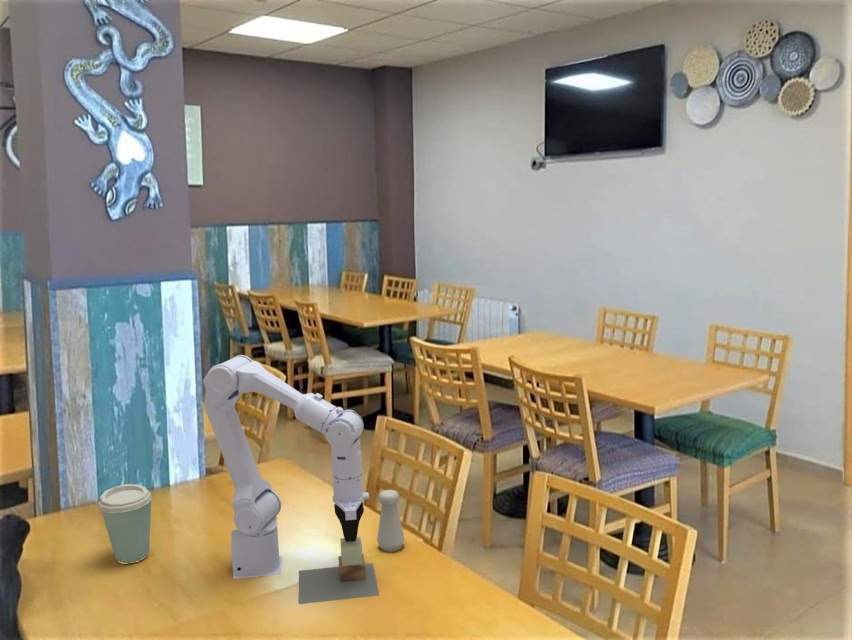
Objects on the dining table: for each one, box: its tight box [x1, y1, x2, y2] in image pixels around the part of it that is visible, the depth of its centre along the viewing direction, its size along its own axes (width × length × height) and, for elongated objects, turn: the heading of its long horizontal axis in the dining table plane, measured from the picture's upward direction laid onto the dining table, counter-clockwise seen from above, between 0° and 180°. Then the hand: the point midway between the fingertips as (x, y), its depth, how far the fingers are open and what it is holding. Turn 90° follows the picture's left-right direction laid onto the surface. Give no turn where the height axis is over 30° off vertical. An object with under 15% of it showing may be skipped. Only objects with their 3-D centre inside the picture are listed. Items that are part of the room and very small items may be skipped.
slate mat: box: [298, 562, 380, 605], centre depth 151 cm, size 15×13×1 cm
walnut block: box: [337, 553, 366, 582], centre depth 154 cm, size 5×5×3 cm
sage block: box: [339, 536, 363, 566], centre depth 153 cm, size 4×4×4 cm
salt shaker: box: [376, 489, 405, 553], centre depth 165 cm, size 6×6×13 cm
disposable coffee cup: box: [97, 483, 153, 563], centre depth 164 cm, size 11×11×15 cm
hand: (350, 539), depth 153 cm, fingers closed
